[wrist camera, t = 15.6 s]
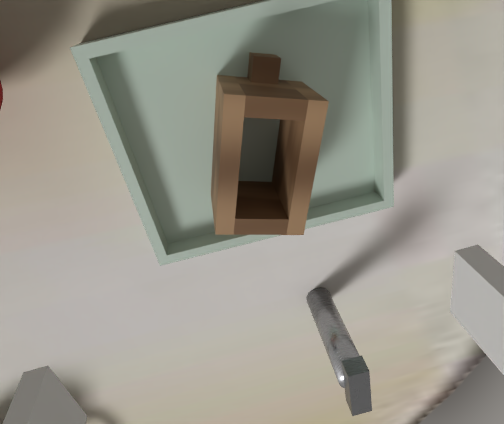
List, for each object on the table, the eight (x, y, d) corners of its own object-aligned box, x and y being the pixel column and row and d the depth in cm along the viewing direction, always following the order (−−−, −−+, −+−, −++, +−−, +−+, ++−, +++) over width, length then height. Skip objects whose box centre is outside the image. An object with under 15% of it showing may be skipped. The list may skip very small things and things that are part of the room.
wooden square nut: (284, 195, 31) (303, 235, 26) (210, 193, 30) (215, 234, 25) (305, 57, 26) (334, 71, 21) (218, 49, 25) (225, 62, 20)
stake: (303, 281, 37) (342, 378, 28) (327, 275, 37) (374, 369, 28) (309, 317, 40) (347, 417, 30) (331, 311, 40) (376, 409, 30)
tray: (80, 43, 24) (69, 47, 22) (373, -26, 25) (391, -28, 23) (161, 248, 33) (160, 265, 31) (380, 193, 33) (393, 206, 31)
